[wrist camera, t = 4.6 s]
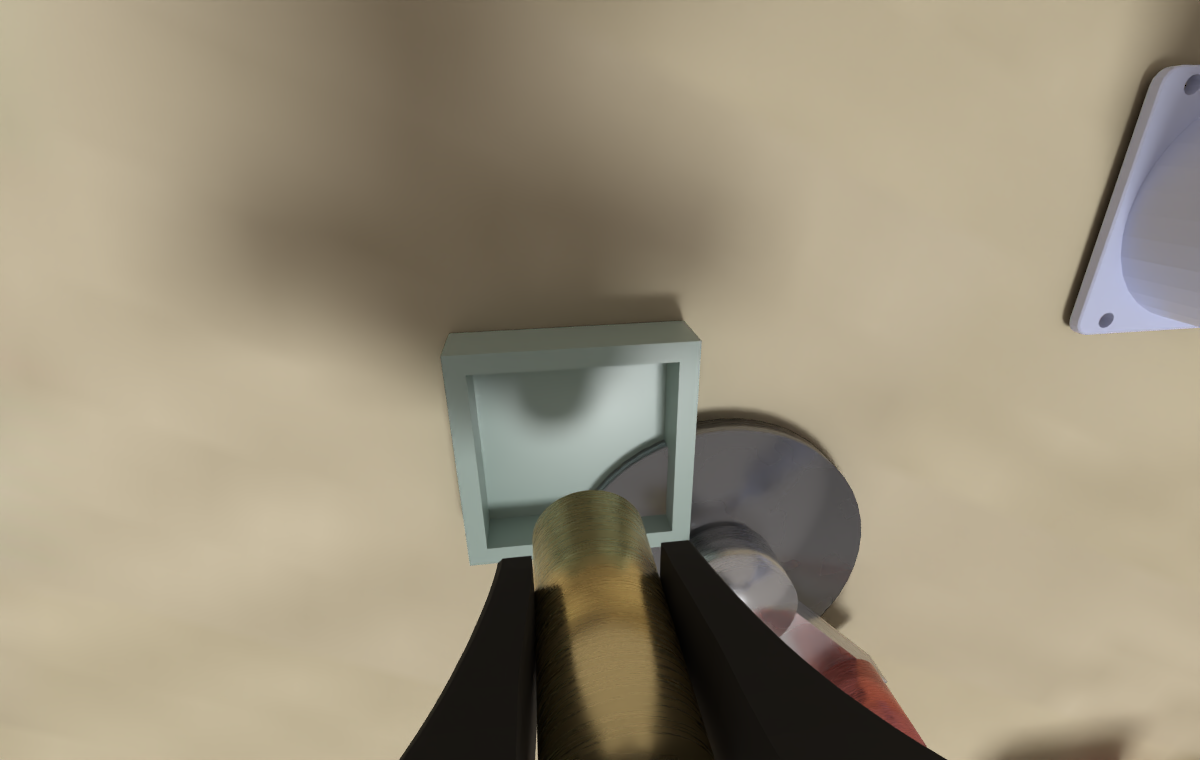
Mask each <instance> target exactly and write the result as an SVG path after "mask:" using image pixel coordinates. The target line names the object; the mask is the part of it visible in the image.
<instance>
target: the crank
mask: <svg viewBox="0 0 1200 760" xmlns="http://www.w3.org/2000/svg"><path fill="white" fill-rule="evenodd" d="M689 541H690V542H691V543H692V544H693V545H694V546H695V547H696V549H697V550H698V551H699V552H700V553H701V555H702V556H703V557H704V558H705V559H706V561H707V562H708V563H709V564H710V565H711V567H712V568H713V569H714V570H715V571H716V572H717V573H718V575H719V576H720V577H721V578H722V579H723V580H724V581H725V583H726V584H727V585H728V586H729V587H730V588H731V589H732V590H733V591H734V592H735V594H736V595H737V596H738V597H739V598H740V599H741V600H742V601H743V602H744V603H745V604H746V605H747V606H748V607H749V608H750V609H751V610H752V611H753V612H754V613H755V614H756V615H757V616H758V617H759V618H760V619H761V620H762V621H763V622H764V623H765V624H766V625H767V626H768V627H769V628H770V629H771V630H772V631H773V632H774V633H775V634H776V635H777V636H778V637H779V638H781V639H782V640H783V641H784V642H785V643H786V644H787V645H788V646H789V647H790V648H791V649H793V650H794V651H795V652H796V653H797V654H798V655H799V656H800V657H802V658H803V659H804V660H805V661H806V662H807V663H809V664H810V665H811V666H812V667H814V668H815V669H816V670H817V671H818V672H820V673H821V674H822V675H823V676H824V677H826V678H827V679H828V680H829V681H831V682H832V683H833V684H835V685H836V686H837V687H839V688H840V689H841V690H842V691H844V692H845V693H846V694H848V695H849V696H851V697H852V698H853V699H855V700H856V701H858V702H859V703H861V704H862V705H863V706H865V707H866V708H868V709H869V710H871V711H872V712H873V713H875V714H876V715H878V716H879V717H881V718H882V719H883V720H885V721H886V722H888V723H889V724H891V725H892V726H894V727H895V728H897V729H898V730H900V731H901V732H903V733H904V734H906V735H908V736H909V737H911V738H912V739H914V740H916V741H917V742H919V743H920V744H922V745H924V746H925V747H926V745H925V743H924V742H923V740H922V739H921V737H920V736H919V734H918V733H917V731H916V730H915V728H914V726H913V725H912V723H911V722H910V720H909V719H908V717H907V716H906V714H905V713H904V711H903V710H902V708H901V707H900V705H899V704H898V702H897V701H896V699H895V698H894V696H893V695H892V693H891V692H890V690H889V689H888V687H887V686H886V684H885V683H887V681H886V679H885V678H884V676H883V675H882V673H881V672H880V670H879V669H878V667H877V666H876V664H875V663H874V661H873V660H872V658H871V657H870V656H869V655H868V654H867V653H866V652H864V651H863V650H862V649H861V648H859V647H858V646H857V645H855V644H854V643H853V642H852V641H850V640H849V639H848V638H846V637H845V636H844V635H843V634H841V633H840V632H839V631H837V630H836V629H835V628H834V627H832V626H831V625H830V624H828V623H827V622H826V621H825V620H823V619H822V618H821V617H820V616H818V615H817V614H816V613H814V612H813V611H812V610H811V609H809V608H808V607H807V606H805V605H804V604H803V603H802V602H800V601H799V600H798V596H797V592H796V590H795V588H794V585H793V584H792V582H791V580H790V579H789V577H788V575H787V574H786V572H785V570H784V569H783V567H782V565H781V564H780V562H779V560H778V559H777V557H776V555H775V554H774V552H773V550H772V549H771V547H770V545H769V544H768V543H767V541H766V540H765V539H764V538H763V537H762V536H761V535H760V534H758V533H757V532H755V531H753V530H751V529H747V528H744V527H739V526H721V527H716V528H712V529H708V530H706V531H703V532H701V533H699V534H697V535H695V536H693V537H691V538H690V539H689Z"/></svg>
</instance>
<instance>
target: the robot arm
mask: <svg viewBox="0 0 1200 760" xmlns="http://www.w3.org/2000/svg"><path fill="white" fill-rule="evenodd" d="M1186 82H1187V84H1186ZM1185 84H1186V87H1185ZM1184 87H1185V89H1184ZM1101 317H1102V318H1101ZM1100 318H1101V319H1100ZM1099 320H1100V321H1099ZM1069 325H1070V328H1071V329H1072V330H1073V331H1075V332H1078V333H1081V334H1085V335H1090V334H1106V333H1122V332H1138V331H1154V330H1170V329H1186V328H1200V65H1177V66H1170V67H1166V68H1164V69H1162V70H1161V71H1159V72H1158V73H1157V75H1156V76H1155V77H1154V78H1153V79H1152V82H1151V84H1150V86H1149V88H1148V91H1147V94H1146V97H1145V100H1144V103H1143V106H1142V109H1141V112H1140V115H1139V118H1138V121H1137V123H1136V126H1135V129H1134V132H1133V135H1132V138H1131V141H1130V144H1129V147H1128V150H1127V153H1126V156H1125V159H1124V162H1123V165H1122V168H1121V170H1120V173H1119V176H1118V179H1117V182H1116V185H1115V188H1114V191H1113V194H1112V197H1111V200H1110V203H1109V206H1108V209H1107V212H1106V215H1105V217H1104V220H1103V223H1102V226H1101V229H1100V232H1099V235H1098V238H1097V241H1096V244H1095V247H1094V250H1093V253H1092V256H1091V259H1090V262H1089V264H1088V267H1087V270H1086V273H1085V276H1084V279H1083V282H1082V285H1081V288H1080V291H1079V294H1078V297H1077V300H1076V303H1075V306H1074V309H1073V311H1072V314H1071V317H1070V323H1069ZM660 581H661V584H662V587H663V591H664V594H665V597H666V601H667V604H668V607H669V610H670V614H671V617H672V620H673V624H674V627H675V630H676V633H677V637H678V640H679V643H680V647H681V650H682V653H683V657H684V660H685V663H686V666H687V670H688V673H689V676H690V680H691V683H692V686H693V690H694V693H695V696H696V699H697V703H698V706H699V709H700V713H701V716H702V719H703V722H704V726H705V729H706V732H707V736H708V739H709V742H710V746H711V749H712V752H713V755H714V759H715V760H947V759H945V758H943V757H942V756H940V755H938V754H937V753H935V752H933V751H932V750H930V749H929V748H927V747H925V746H924V745H922V744H920V743H919V742H917V741H916V740H914V739H912V738H911V737H909V736H908V735H906V734H904V733H903V732H901V731H900V730H898V729H897V728H895V727H894V726H892V725H891V724H889V723H888V722H886V721H885V720H883V719H882V718H881V717H879V716H878V715H876V714H875V713H873V712H872V711H871V710H869V709H868V708H866V707H865V706H863V705H862V704H861V703H859V702H858V701H856V700H855V699H853V698H852V697H851V696H849V695H848V694H846V693H845V692H844V691H842V690H841V689H840V688H839V687H837V686H836V685H835V684H833V683H832V682H831V681H829V680H828V679H827V678H826V677H824V676H823V675H822V674H821V673H820V672H818V671H817V670H816V669H815V668H814V667H812V666H811V665H810V664H809V663H807V662H806V661H805V660H804V659H803V658H802V657H800V656H799V655H798V654H797V653H796V652H795V651H794V650H793V649H791V648H790V647H789V646H788V645H787V644H786V643H785V642H784V641H783V640H782V639H781V638H779V637H778V636H777V635H776V634H775V633H774V632H773V631H772V630H771V629H770V628H769V627H768V626H767V625H766V624H765V623H764V622H763V621H762V620H761V619H760V618H759V617H758V616H757V615H756V614H755V613H754V612H753V611H752V610H751V609H750V608H749V607H748V606H747V605H746V604H745V603H744V602H743V601H742V600H741V599H740V598H739V597H738V596H737V595H736V594H735V592H734V591H733V590H732V589H731V588H730V587H729V586H728V585H727V584H726V583H725V581H724V580H723V579H722V578H721V577H720V576H719V575H718V573H717V572H716V571H715V570H714V569H713V568H712V567H711V565H710V564H709V563H708V562H707V561H706V559H705V558H704V557H703V556H702V555H701V553H700V552H699V551H698V550H697V549H696V547H695V546H694V545H693V544H692V543H691V542H690V541H689V540H682V541H672V542H662V543H661V555H660ZM535 632H536V628H535V591H534V579H533V567H532V556H522V557H512V558H503V559H502V560H501V561H500V562H499V563H498V565H497V569H496V573H495V577H494V580H493V583H492V586H491V589H490V592H489V595H488V597H487V600H486V602H485V605H484V608H483V610H482V612H481V615H480V617H479V619H478V621H477V624H476V626H475V628H474V631H473V633H472V635H471V637H470V640H469V642H468V644H467V646H466V648H465V650H464V652H463V654H462V656H461V658H460V660H459V661H458V663H457V665H456V667H455V669H454V671H453V673H452V675H451V677H450V679H449V681H448V683H447V684H446V686H445V688H444V690H443V691H442V693H441V695H440V697H439V698H438V700H437V702H436V704H435V705H434V707H433V709H432V710H431V712H430V714H429V715H428V717H427V718H426V720H425V722H424V723H423V725H422V726H421V728H420V730H419V731H418V733H417V734H416V736H415V737H414V739H413V740H412V742H411V743H410V745H409V746H408V748H407V749H406V751H405V752H404V754H403V755H402V757H401V758H400V760H535V749H536V730H537V703H536V663H535Z"/></svg>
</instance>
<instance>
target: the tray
mask: <svg viewBox="0 0 1200 760" xmlns="http://www.w3.org/2000/svg"><path fill="white" fill-rule="evenodd" d="M440 357H441V364H442V371H443V378H444V385H445V392H446V399H447V406H448V413H449V420H450V427H451V434H452V441H453V449H454V456H455V463H456V470H457V477H458V484H459V491H460V498H461V505H462V512H463V519H464V526H465V533H466V540H467V547H468V554H469V561H470V566H471V565H481V564H491V563H499V562H500V561H501V560H502V559H503V558H512V557H522V556H532V559H533V544H532V537H533V530H534V527H535V524H536V522H537V520H538V518H539V517H540V515H541V514H542V513H543V511H544V510H545V509H546V508H547V507H548V506H550V505H551V504H552V503H553V502H555V501H557V500H558V499H560V498H562V497H564V496H566V495H569V494H572V493H575V492H579V491H586V490H595V489H596V488H597V487H598V486H599V485H600V484H601V483H602V481H603V480H604V479H605V478H606V477H607V476H608V475H609V474H610V473H611V472H613V471H614V470H615V469H616V468H617V467H619V466H620V465H621V464H622V463H623V462H625V461H626V460H628V459H629V458H631V457H632V456H634V455H635V454H637V453H638V452H640V451H641V450H643V449H645V448H647V447H649V446H651V445H653V444H655V443H657V442H659V441H661V440H663V439H664V440H665V442H666V444H667V447H668V471H667V496H666V514H663V515H652V516H641V519H642V521H643V525H644V528H645V531H646V535H647V538H648V541H649V544H650V548H653V547H661V543H662V542H672V541H682V540H689V536H690V520H691V504H692V488H693V471H694V455H695V439H696V423H697V406H698V390H699V374H700V358H701V340H700V339H699V337H698V336H697V335H696V334H695V333H694V332H693V331H692V329H691V328H690V327H689V326H688V325H687V324H686V322H685V321H668V322H650V323H631V324H613V325H595V326H576V327H558V328H540V329H521V330H503V331H485V332H466V333H449V335H448V338H447V340H446V343H445V346H444V348H443V351H442V354H441V356H440Z"/></svg>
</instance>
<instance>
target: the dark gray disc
mask: <svg viewBox="0 0 1200 760" xmlns="http://www.w3.org/2000/svg"><path fill="white" fill-rule="evenodd" d="M667 471H668V447H667V444H666V442H665V440H664V439H663V440H661V441H659V442H657V443H655V444H653V445H651V446H649V447H647V448H645V449H643V450H641V451H640V452H638V453H637V454H635V455H634V456H632V457H631V458H629V459H628V460H626V461H625V462H623V463H622V464H621V465H620V466H619V467H617V468H616V469H615V470H614V471H613V472H611V473H610V474H609V475H608V476H607V477H606V478H605V479H604V480H603V481H602V483H601V484H600V485H599V486H598V487H597V488H596V489H595V490H601V491H607V492H611V493H614V494H617V495H619V496H621V497H623V498H625V499H626V500H628V501H629V502H630V503H631V504H632V505H633V506H634V507H635V508H636V509H637V511H638V512H639V514H640V516H652V515H663V514H666V496H667ZM721 526H739V527H744V528H747V529H751V530H753V531H755V532H757V533H758V534H760V535H761V536H762V537H763V538H764V539H765V540H766V541H767V543H768V544H769V545H770V547H771V549H772V550H773V552H774V554H775V555H776V557H777V559H778V560H779V562H780V564H781V565H782V567H783V569H784V570H785V572H786V574H787V575H788V577H789V579H790V580H791V582H792V584H793V585H794V588H795V590H796V592H797V596H798V600H799V601H800V602H802V603H803V604H804V605H805V606H807V607H808V608H809V609H811V610H812V611H813V612H814V613H816V614H817V615H818V616H821V615H822V614H823V613H824V612H825V611H826V610H827V609H828V608H829V607H830V605H831V604H832V603H833V602H834V600H835V599H836V598H837V596H838V595H839V594H840V592H841V590H842V589H843V587H844V585H845V584H846V582H847V580H848V578H849V576H850V574H851V572H852V569H853V567H854V565H855V561H856V558H857V555H858V551H859V545H860V538H861V519H860V514H859V509H858V504H857V502H856V499H855V496H854V494H853V491H852V489H851V488H850V486H849V484H848V483H847V481H846V479H845V478H844V477H843V475H842V474H841V473H840V472H839V471H838V470H837V468H836V467H835V466H834V465H833V464H832V463H831V462H830V461H829V460H828V459H827V458H826V457H825V456H824V454H823V453H822V452H821V451H820V450H818V449H817V448H816V447H815V446H814V445H812V444H811V443H810V442H809V441H807V440H806V439H804V438H802V437H801V436H799V435H797V434H796V433H794V432H792V431H789V430H787V429H784V428H782V427H779V426H777V425H773V424H769V423H764V422H760V421H754V420H745V419H717V420H709V421H702V422H697V423H696V439H695V455H694V471H693V488H692V504H691V520H690V536H689V539H690V538H691V537H693V536H695V535H697V534H699V533H701V532H703V531H706V530H708V529H712V528H716V527H721ZM651 551H652V554H653V558H654V561H655V564H656V568H657V571H658V574H659V577H660V555H661V547H653V548H651Z"/></svg>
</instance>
